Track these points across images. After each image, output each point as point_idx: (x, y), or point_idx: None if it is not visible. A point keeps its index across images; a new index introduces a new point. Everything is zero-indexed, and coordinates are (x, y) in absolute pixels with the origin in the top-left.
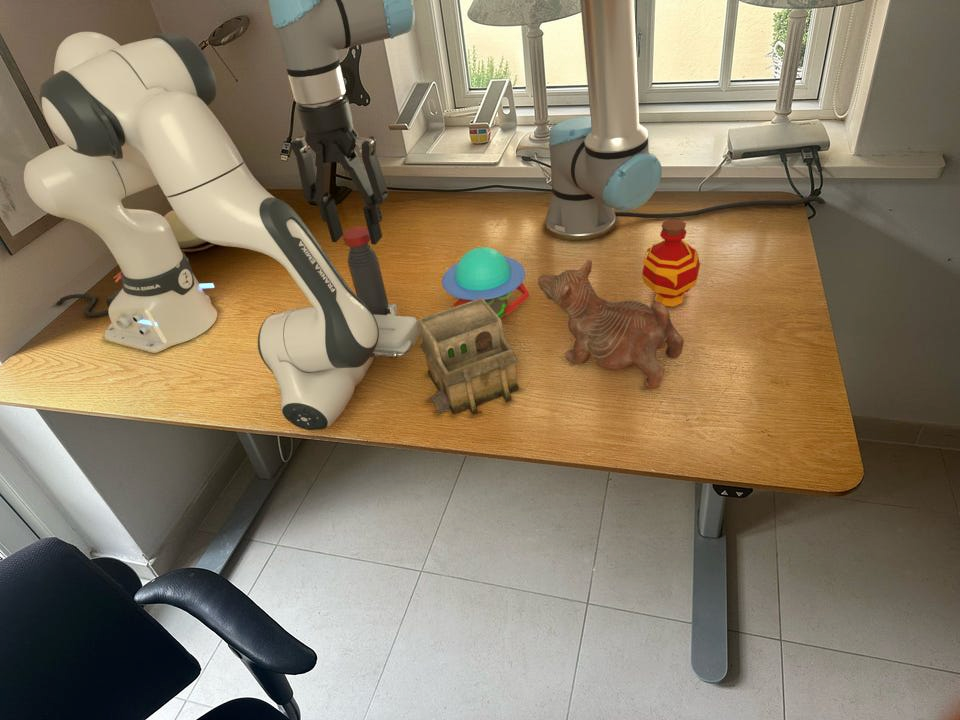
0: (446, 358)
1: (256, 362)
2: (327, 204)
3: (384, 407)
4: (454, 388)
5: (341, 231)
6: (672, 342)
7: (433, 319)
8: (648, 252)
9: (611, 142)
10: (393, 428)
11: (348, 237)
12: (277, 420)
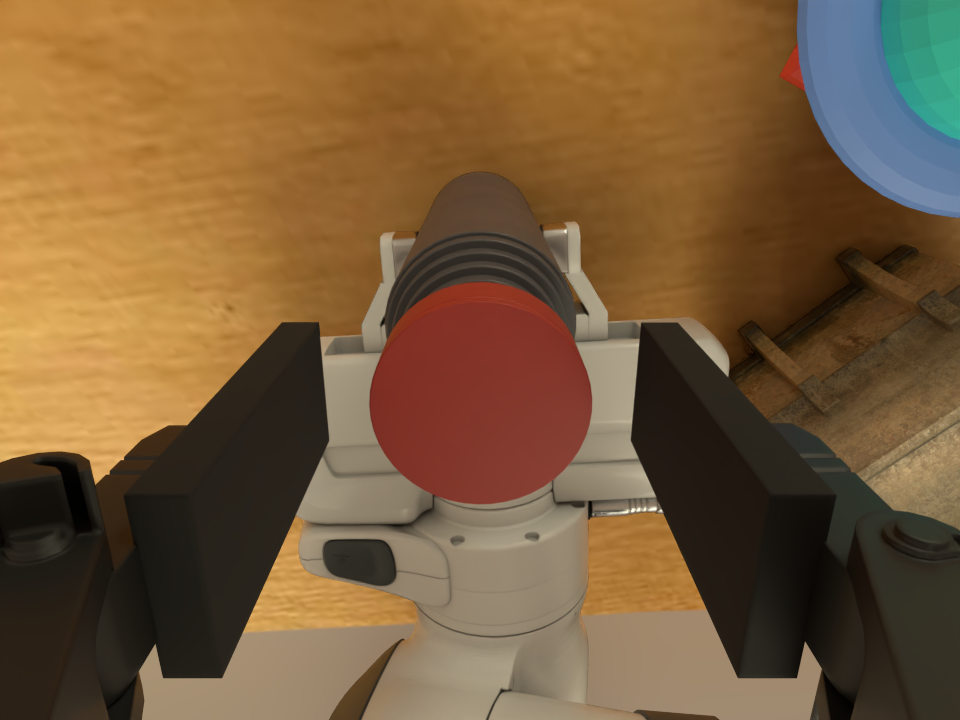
0: None
1: (107, 419)
2: (201, 633)
3: (621, 523)
4: None
5: (311, 349)
6: None
7: (878, 482)
8: None
9: None
10: (672, 582)
11: (457, 486)
12: (349, 609)
